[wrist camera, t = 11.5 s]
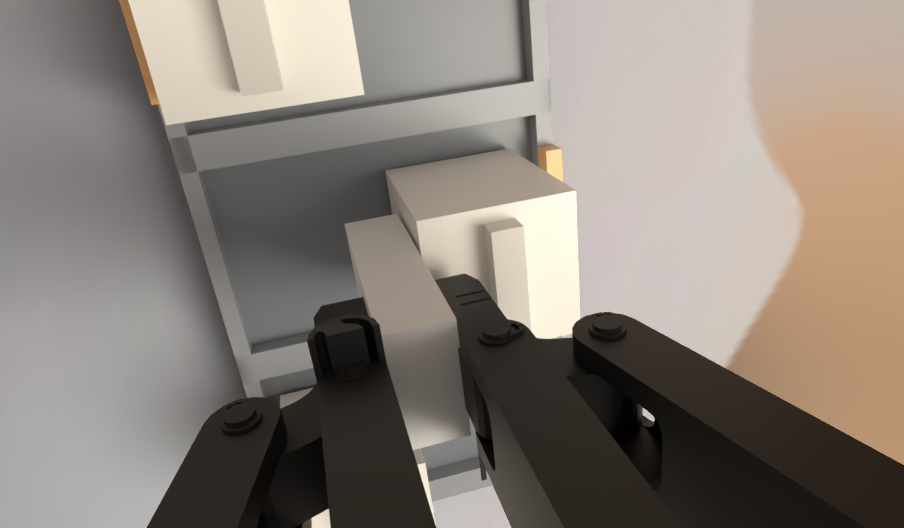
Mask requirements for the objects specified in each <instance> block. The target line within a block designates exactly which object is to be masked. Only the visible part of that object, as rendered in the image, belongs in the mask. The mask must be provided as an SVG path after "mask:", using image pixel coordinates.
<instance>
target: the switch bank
mask: <svg viewBox="0 0 904 528" xmlns="http://www.w3.org/2000/svg"><path fill="white" fill-rule="evenodd" d="M119 2H120V5H121V9H122V12H123V15H124V18H125V22H126V25H127V28H128V31H129V34H130V38H131V41H132V44H133V47H134V51H135V54H136V57H137V60H138V64H139V67H140V70H141V73H142V76H143V80H144V83H145V86H146V89H147V93H148V96H149V99H150V102H151V105H158V108H159V111H160V114H161V118H162V121H163V124H164V127H165V131H166V134H167V137H168V141H169V144H170V147H171V150H172V154H173V157H174V160H175V163H176V167H177V170H178V173H179V177H180V180H181V183H182V186H183V190H184V193H185V196H186V200H187V203H188V206H189V209H190V213H191V216H192V219H193V222H194V226H195V229H196V232H197V236H198V239H199V242H200V245H201V249H202V252H203V255H204V258H205V262H206V265H207V268H208V272H209V275H210V278H211V281H212V285H213V288H214V291H215V295H216V298H217V301H218V304H219V308H220V311H221V314H222V317H223V321H224V324H225V327H226V331H227V334H228V337H229V340H230V344H231V347H232V350H233V353H234V357H235V360H236V363H237V367H238V370H239V373H240V376H241V380H242V383H243V386H244V390H245V393H246V396H247V398H251V397H266V398H268V399H271V400H274V401H276V403H277V404H278V405H279V407H280V395H284V394H288V393H293V392H297V391H301V390H305V389H310V388H314V387H315V385H316V383H317V382H316V376H315V372H314V368H313V364H312V360H311V356H310V352H309V348H308V344H307V338H308V335H309V333H310V332H311V331H312V330H313V329H314V328H315V327H314V316H315V315H316V313H317V312H318V310H319V309H320V307H321V306H323V305H328V304H332V303H337V302H341V301H346V300H351V299H355V298H359V295H358V290H357V285H356V280H355V275H354V270H353V265H352V259H351V254H350V249H349V244H348V239H347V234H346V229H345V224H346V223H351V222H356V221H362V220H367V219H372V218H377V217H382V216H388V215H392V210H391V204H390V198H389V191H388V185H387V179H386V173H385V170H391V169H396V168H402V167H408V166H413V165H419V164H424V163H430V162H436V161H441V160H447V159H453V158H458V157H464V156H470V155H475V154H481V153H486V152H492V151H498V150H503V149H511V150H512V151H514V152H516V153H517V154H519V155H520V156H522V157H524V158H525V159H527V160H528V161H530V162H531V163H533V164H535V165H536V166H538V167H539V168H541V169H543V170H544V171H546V172H547V173H549V174H551V175H552V176H554V177H555V178H557V179H559V180H560V181H562V182H563V172H562V149H561V148H559V147H557V146H555V145H553V142H552V122H551V101H550V80H549V60H548V39H547V18H546V0H349V5H350V11H351V17H352V23H353V29H354V35H355V41H356V47H357V53H358V59H359V64H360V70H361V76H362V82H363V88H364V94H365V95H359V96H353V97H346V98H340V99H333V100H327V101H320V102H314V103H307V104H301V105H294V106H288V107H281V108H275V109H268V110H262V111H255V112H249V113H243V114H236V115H230V116H223V117H217V118H210V119H204V120H197V121H191V122H184V123H178V124H171V125H166V123H165V120H164V116H163V113H162V110H161V107H160V103H159V100H158V97H157V93H156V90H155V87H154V84H153V80H152V77H151V74H150V70H149V67H148V64H147V60H146V57H145V54H144V51H143V47H142V44H141V41H140V37H139V34H138V31H137V28H136V24H135V21H134V18H133V14H132V11H131V8H130V4H129V1H128V0H119ZM559 338H562V336H560V337H556V338H552V339H559ZM469 421H470V429H471V435H469V436H465V437H461V438H458V439H454V440H450V441H446V442H443V443H439V444H435V445H431V446H427V447H424V448H421V450H422V454H423V457H424V460H425V464H426V470H427V476H428V482H429V488H430V493H431V499H432V502H433V501H436V500H440V499H444V498H447V497H451V496H454V495H458V494H462V493H465V492H469V491H472V490H476V489H480V488H483V487H487V486H490V485H493V484H492V482H491V479H490V477H489V475H488V473H487V471H486V473H487V479H486V480H483V481H482V480H481V472H480V464H479V456H478V448H477V440H476V432H475V428H474V425H473V423H472V421H471V419H470V417H469Z"/></svg>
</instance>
